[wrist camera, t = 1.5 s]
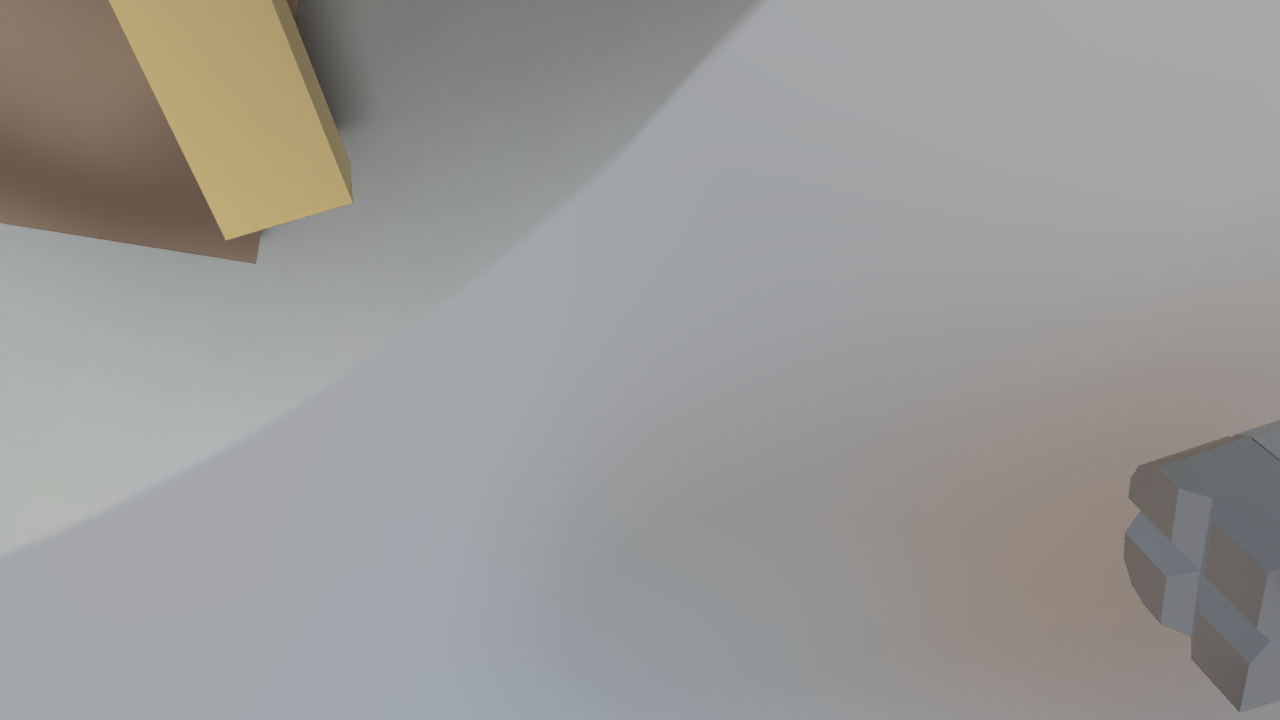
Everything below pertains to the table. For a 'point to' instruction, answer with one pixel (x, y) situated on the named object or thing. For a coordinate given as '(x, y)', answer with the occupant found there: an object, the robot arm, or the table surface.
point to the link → (241, 107)
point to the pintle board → (94, 136)
